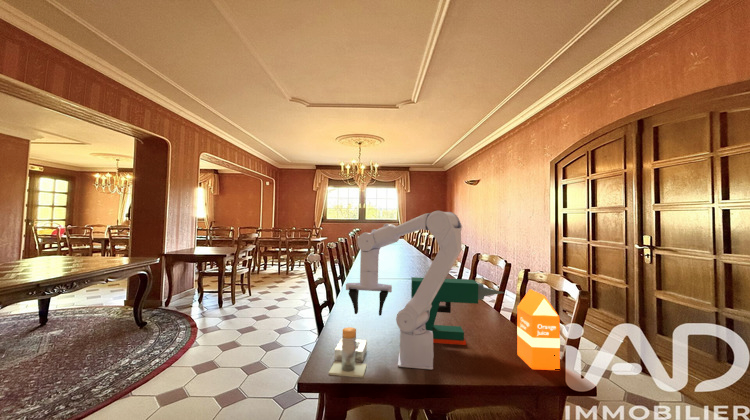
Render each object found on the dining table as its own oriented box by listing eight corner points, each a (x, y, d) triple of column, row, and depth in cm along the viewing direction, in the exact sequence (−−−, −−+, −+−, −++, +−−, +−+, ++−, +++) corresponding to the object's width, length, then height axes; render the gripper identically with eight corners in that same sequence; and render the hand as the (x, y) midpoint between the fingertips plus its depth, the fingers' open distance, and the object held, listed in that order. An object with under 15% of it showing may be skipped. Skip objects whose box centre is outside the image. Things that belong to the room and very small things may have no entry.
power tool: (501, 338, 99) (501, 280, 100) (508, 347, 92) (509, 285, 93) (409, 333, 102) (410, 276, 103) (409, 341, 95) (410, 280, 96)
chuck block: (366, 350, 88) (366, 340, 88) (362, 362, 80) (362, 351, 80) (341, 348, 89) (341, 338, 89) (334, 360, 81) (334, 349, 81)
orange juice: (542, 355, 87) (542, 289, 88) (560, 370, 78) (560, 296, 79) (516, 354, 87) (516, 288, 88) (531, 369, 78) (531, 295, 79)
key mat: (366, 365, 78) (366, 363, 78) (363, 377, 72) (363, 375, 72) (334, 363, 79) (334, 361, 79) (328, 374, 73) (328, 372, 73)
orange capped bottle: (356, 365, 77) (357, 327, 78) (353, 372, 74) (354, 332, 74) (343, 364, 78) (344, 326, 78) (340, 371, 74) (341, 331, 75)
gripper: (392, 269, 94) (391, 311, 93) (349, 267, 96) (348, 308, 95) (391, 273, 87) (390, 318, 86) (344, 271, 89) (343, 315, 88)
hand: (368, 313), depth 90 cm, fingers open, 7 cm apart
